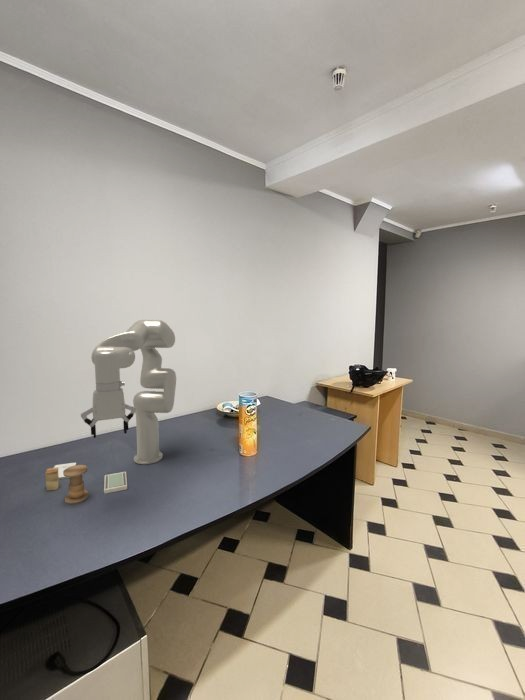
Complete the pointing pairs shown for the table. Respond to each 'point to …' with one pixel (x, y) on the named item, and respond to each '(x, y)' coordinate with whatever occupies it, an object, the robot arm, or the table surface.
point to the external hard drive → (62, 468)
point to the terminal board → (115, 482)
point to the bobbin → (76, 484)
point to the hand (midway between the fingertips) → (110, 434)
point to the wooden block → (52, 479)
